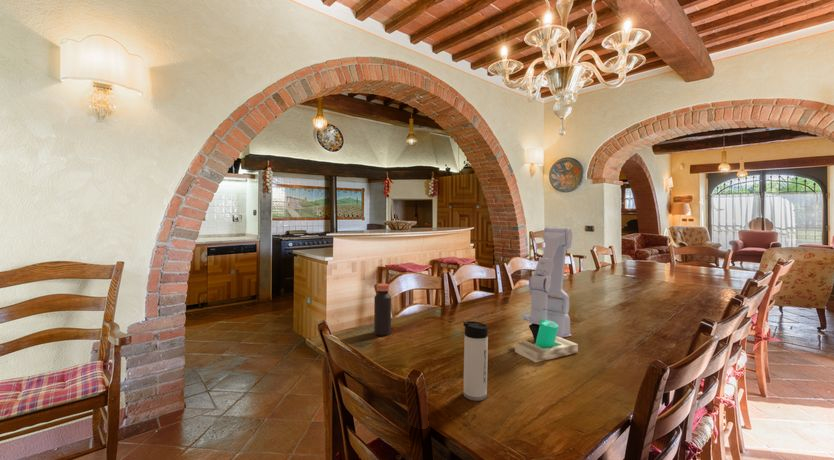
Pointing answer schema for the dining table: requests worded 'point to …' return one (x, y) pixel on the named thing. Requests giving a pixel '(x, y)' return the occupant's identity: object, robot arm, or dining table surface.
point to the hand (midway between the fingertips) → (537, 344)
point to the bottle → (382, 311)
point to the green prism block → (546, 334)
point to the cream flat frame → (546, 350)
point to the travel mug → (475, 360)
